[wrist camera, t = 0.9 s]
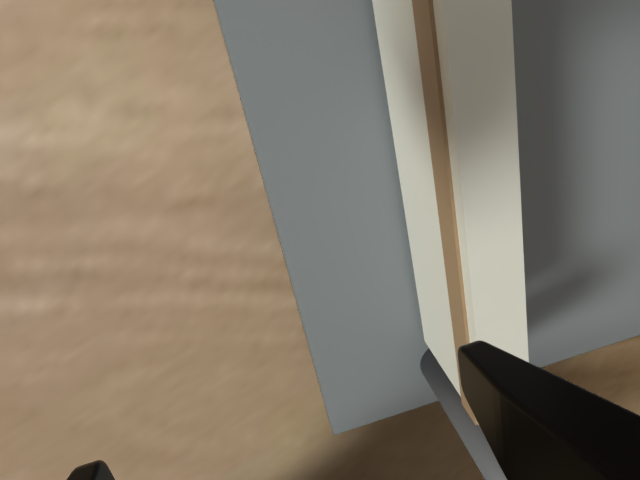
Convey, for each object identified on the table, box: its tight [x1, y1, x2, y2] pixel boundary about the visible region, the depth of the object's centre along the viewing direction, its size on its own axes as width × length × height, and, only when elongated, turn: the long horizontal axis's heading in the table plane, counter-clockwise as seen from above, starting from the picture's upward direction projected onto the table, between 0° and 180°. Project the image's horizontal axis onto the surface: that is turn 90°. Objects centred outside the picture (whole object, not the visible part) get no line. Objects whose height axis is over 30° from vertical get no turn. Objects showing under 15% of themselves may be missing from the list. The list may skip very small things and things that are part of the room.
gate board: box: [213, 0, 640, 480], centre depth 17 cm, size 20×22×8 cm
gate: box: [372, 0, 529, 425], centre depth 16 cm, size 14×2×5 cm, turn 12°
